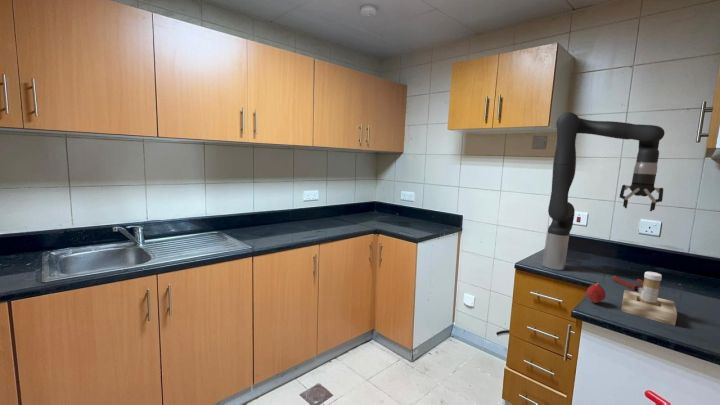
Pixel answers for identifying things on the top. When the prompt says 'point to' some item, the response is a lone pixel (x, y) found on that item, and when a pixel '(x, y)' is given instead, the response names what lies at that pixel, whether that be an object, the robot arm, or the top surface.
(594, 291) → the onion
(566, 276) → the top surface
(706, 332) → the top surface
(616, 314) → the top surface
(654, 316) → the holder
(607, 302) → the top surface
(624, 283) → the pliers
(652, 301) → the sprinkles bottle
